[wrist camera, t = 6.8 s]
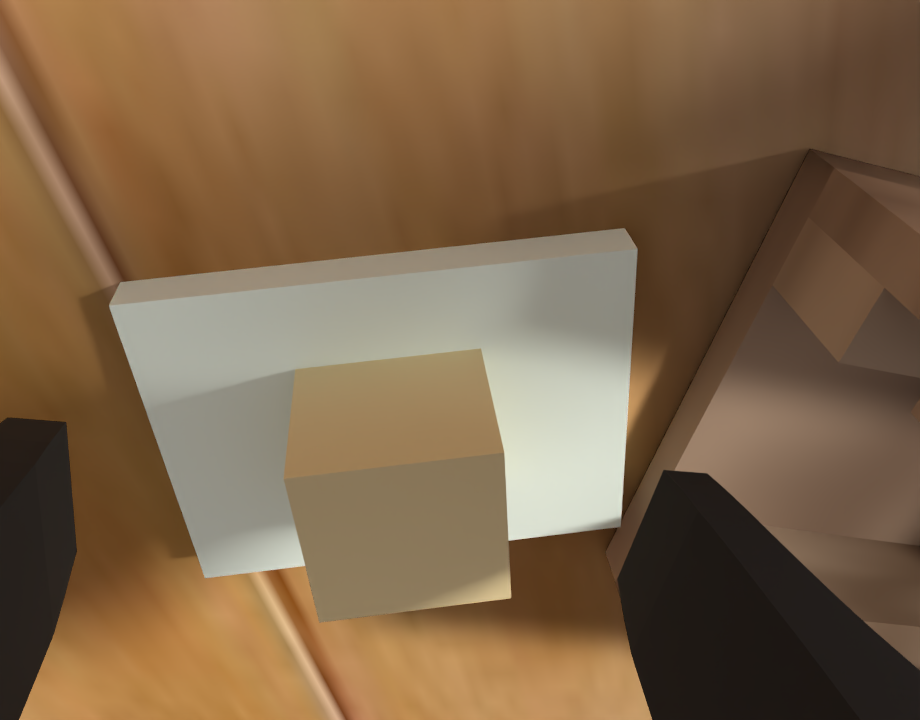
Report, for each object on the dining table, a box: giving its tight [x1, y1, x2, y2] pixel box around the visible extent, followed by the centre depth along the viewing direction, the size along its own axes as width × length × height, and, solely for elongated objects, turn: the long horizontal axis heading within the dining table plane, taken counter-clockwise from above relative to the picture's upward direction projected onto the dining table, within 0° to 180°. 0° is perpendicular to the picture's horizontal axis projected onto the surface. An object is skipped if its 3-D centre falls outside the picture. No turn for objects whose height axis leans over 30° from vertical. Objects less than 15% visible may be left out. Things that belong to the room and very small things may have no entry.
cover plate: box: [109, 228, 638, 623], centre depth 14 cm, size 8×6×4 cm
